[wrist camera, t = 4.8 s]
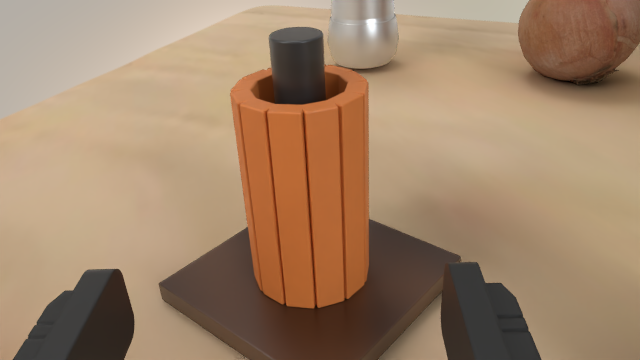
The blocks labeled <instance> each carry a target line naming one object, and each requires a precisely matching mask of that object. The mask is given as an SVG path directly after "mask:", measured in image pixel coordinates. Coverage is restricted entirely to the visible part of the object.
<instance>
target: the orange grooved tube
mask: <svg viewBox="0 0 640 360" xmlns="http://www.w3.org/2000/svg"><path fill="white" fill-rule="evenodd" d="M324 66H325V89H326V101H320V102H315V103H309V104H303V105H295V104H275V100H274V89H273V78H272V68H268V69H267V70H261V71H258V72H255V73H253V74H250V75H248V76H245V77H243V78H242V79H241V80H239V81H238V82H237V83H236V85H235V86H234V87H233V88H232V89H231V93H230V96H231V104H232V111H233V119H234V126H235V134H236V141H237V149H238V156H239V164H240V171H241V179H242V186H243V194H244V201H245V209H246V216H247V224H248V231H249V239H250V246H251V254H252V261H253V269H254V276H255V278H256V280H257V283H258V285H259V288H260V290H261V291H263V293H264V294H265V295H267V296H268V297H270V298H272V299H273V300H275V301H277V302H279V303H280V304H285V303H286V305H287V306H290V307H301V308H312V309H313V308H314V307H315V304H316V305H317V307H318V308H321V307H324V306H328V305H331V304H335V303H338V302H342V301H344V298H346V299H349V298H350V297H351V296H352V295H353V294H354V293H356V292H357V291H358V290H359V289H360V288H361V287H362V286H363V285H364V282H366V280H367V274H368V268H369V125H368V82H367V80H366V79H365V78H364V77H362V76H361V75H360V74H358V73H357V72H356V71H353V70H351V69H347V68H342V67H338V66H333V65H328V66H326V65H325V64H324Z"/></svg>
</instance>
